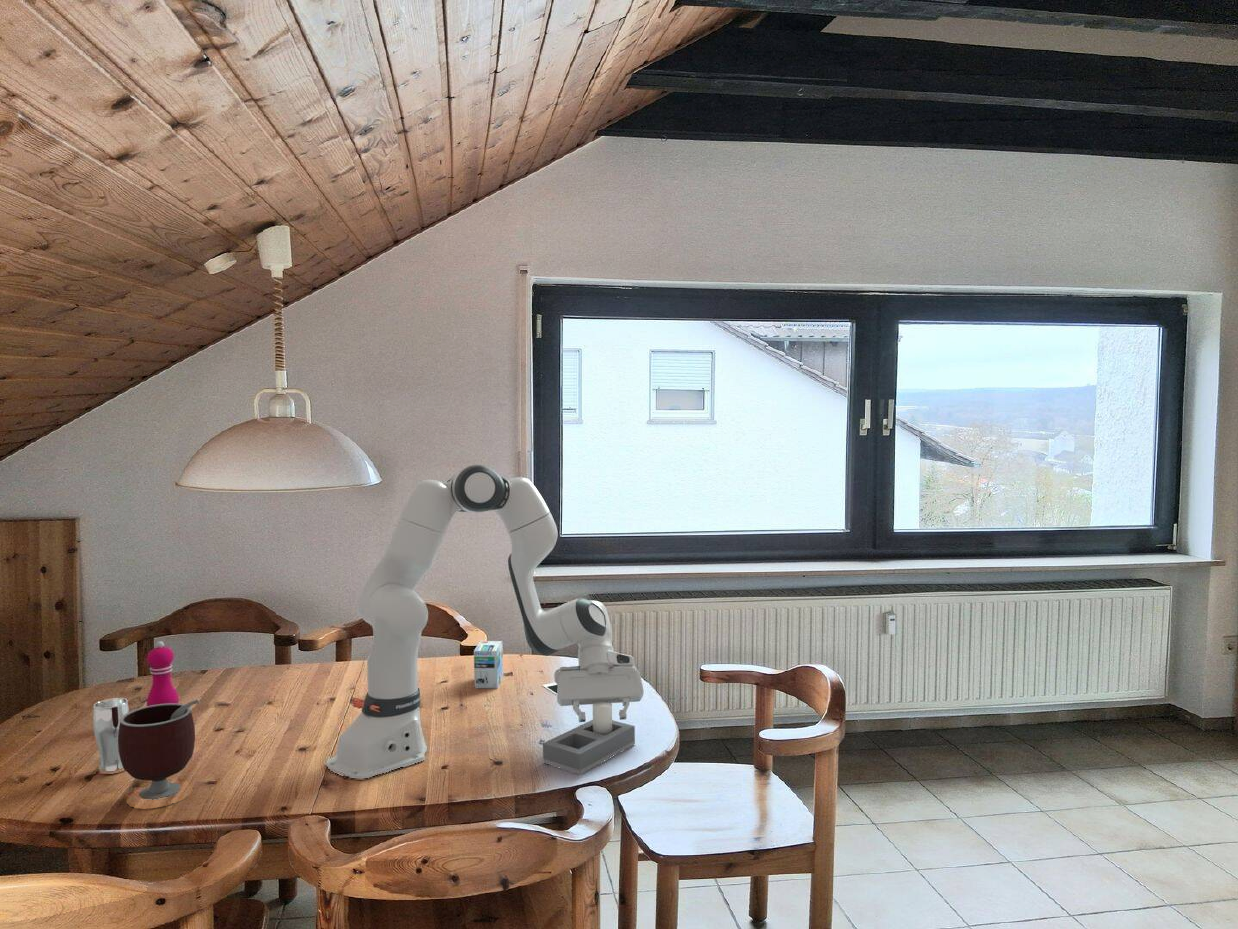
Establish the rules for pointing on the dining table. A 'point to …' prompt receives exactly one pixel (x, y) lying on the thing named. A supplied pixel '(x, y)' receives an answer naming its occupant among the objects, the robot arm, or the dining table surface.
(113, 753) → the beer glass
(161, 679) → the pepper mill
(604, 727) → the plug
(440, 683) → the dining table surface
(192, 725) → the mate gourd
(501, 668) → the light bulb box
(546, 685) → the cell phone
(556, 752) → the socket block
